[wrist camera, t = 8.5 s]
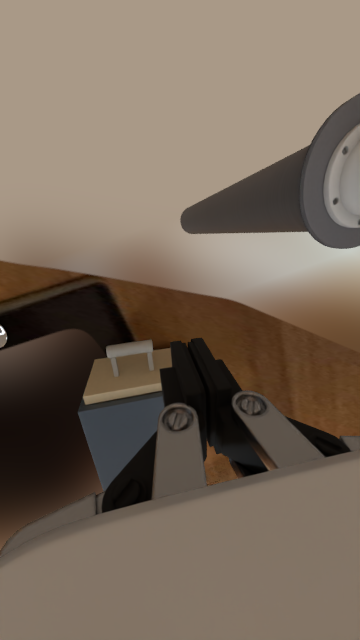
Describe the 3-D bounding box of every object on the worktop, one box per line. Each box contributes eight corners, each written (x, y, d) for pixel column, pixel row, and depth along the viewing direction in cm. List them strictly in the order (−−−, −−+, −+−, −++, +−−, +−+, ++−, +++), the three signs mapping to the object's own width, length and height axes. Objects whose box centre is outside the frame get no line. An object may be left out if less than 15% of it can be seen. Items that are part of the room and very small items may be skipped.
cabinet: (93, 363, 32) (77, 412, 23) (175, 350, 34) (189, 391, 25) (111, 433, 37) (104, 493, 29) (181, 418, 39) (194, 470, 31)
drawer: (87, 332, 29) (72, 364, 22) (169, 321, 31) (180, 347, 24) (111, 427, 36) (106, 474, 29) (177, 413, 38) (188, 455, 30)
